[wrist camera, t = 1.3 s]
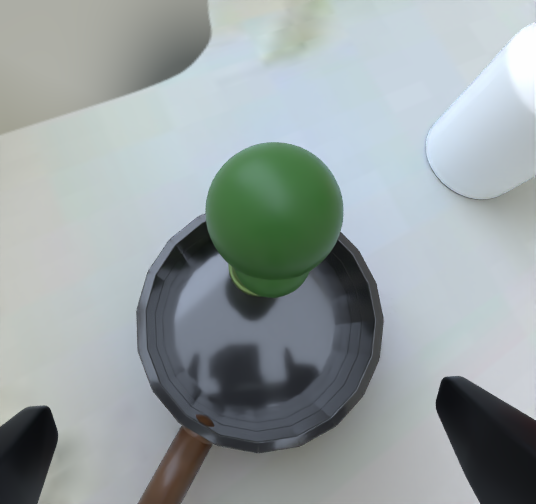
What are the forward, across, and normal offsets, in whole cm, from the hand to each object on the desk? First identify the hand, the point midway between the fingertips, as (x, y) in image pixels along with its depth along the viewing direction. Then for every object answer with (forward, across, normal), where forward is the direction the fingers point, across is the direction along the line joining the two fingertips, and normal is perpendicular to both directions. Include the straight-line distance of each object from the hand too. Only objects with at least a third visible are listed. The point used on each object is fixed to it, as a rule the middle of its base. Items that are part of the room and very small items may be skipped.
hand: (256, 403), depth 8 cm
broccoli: (+15, -1, +4) cm, 15 cm away
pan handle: (+6, +4, +11) cm, 13 cm away
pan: (+13, -1, +7) cm, 15 cm away
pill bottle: (+20, -19, -3) cm, 28 cm away
